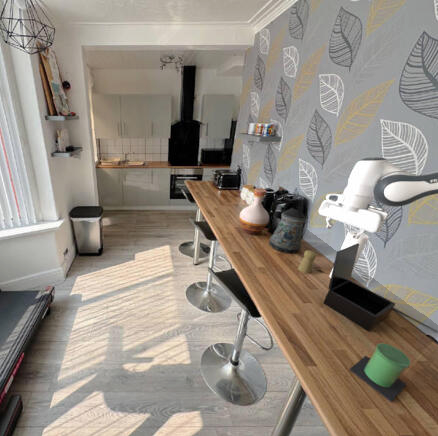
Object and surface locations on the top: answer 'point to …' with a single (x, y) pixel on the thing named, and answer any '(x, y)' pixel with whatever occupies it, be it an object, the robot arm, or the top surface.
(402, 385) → the mat
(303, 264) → the cork
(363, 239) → the cylindrical container
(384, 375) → the pot
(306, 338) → the top surface
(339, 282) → the bin lid
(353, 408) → the top surface
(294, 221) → the beer stein
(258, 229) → the white vase
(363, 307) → the bin
